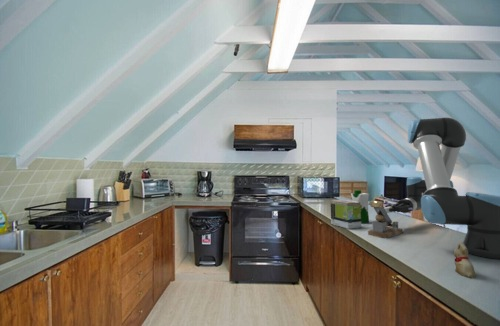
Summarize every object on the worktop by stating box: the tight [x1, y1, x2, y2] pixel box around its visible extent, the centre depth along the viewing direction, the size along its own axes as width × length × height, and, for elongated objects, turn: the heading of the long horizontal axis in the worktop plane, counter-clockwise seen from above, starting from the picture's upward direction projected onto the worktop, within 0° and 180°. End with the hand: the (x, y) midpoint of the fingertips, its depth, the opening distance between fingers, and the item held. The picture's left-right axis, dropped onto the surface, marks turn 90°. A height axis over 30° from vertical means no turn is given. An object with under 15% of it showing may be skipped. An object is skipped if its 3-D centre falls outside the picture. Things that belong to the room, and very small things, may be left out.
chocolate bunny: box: [453, 241, 476, 279], centre depth 84 cm, size 6×8×10 cm
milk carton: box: [350, 189, 370, 225], centre depth 164 cm, size 9×9×20 cm
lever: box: [369, 200, 393, 227], centre depth 133 cm, size 3×5×17 cm
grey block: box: [372, 219, 387, 233], centre depth 131 cm, size 4×5×5 cm
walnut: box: [374, 214, 383, 222], centre depth 131 cm, size 4×4×4 cm
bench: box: [367, 221, 404, 239], centre depth 134 cm, size 17×9×6 cm, turn 125°
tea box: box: [330, 199, 362, 230], centre depth 155 cm, size 15×10×15 cm
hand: (384, 210), depth 135 cm, fingers closed
